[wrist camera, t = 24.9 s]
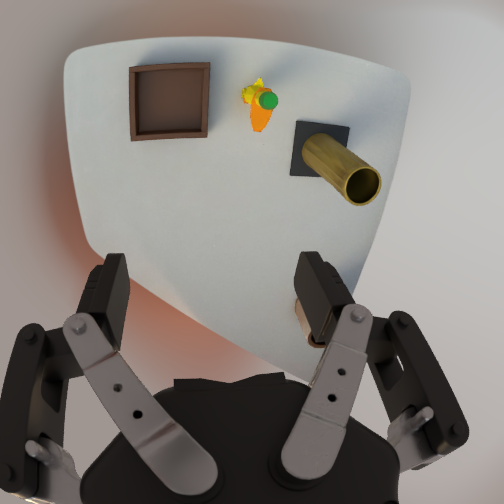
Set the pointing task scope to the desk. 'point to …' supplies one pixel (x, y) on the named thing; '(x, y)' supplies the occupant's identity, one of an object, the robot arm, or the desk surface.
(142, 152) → the desk surface
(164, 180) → the desk surface
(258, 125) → the toy figure
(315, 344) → the planter
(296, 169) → the mat
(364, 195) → the vase
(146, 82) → the tray
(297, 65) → the desk surface
